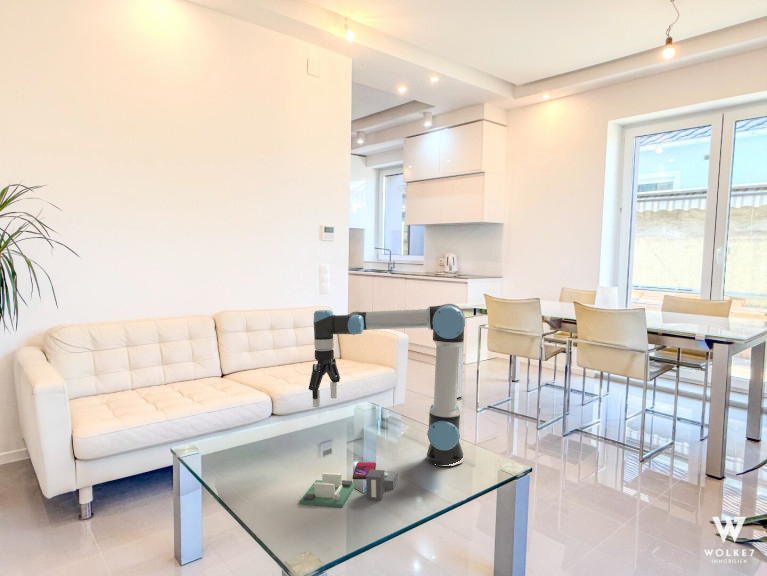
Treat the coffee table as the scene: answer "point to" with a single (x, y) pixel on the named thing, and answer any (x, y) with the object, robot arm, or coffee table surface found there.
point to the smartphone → (363, 469)
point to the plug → (375, 484)
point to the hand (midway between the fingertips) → (325, 402)
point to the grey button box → (390, 479)
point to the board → (328, 491)
